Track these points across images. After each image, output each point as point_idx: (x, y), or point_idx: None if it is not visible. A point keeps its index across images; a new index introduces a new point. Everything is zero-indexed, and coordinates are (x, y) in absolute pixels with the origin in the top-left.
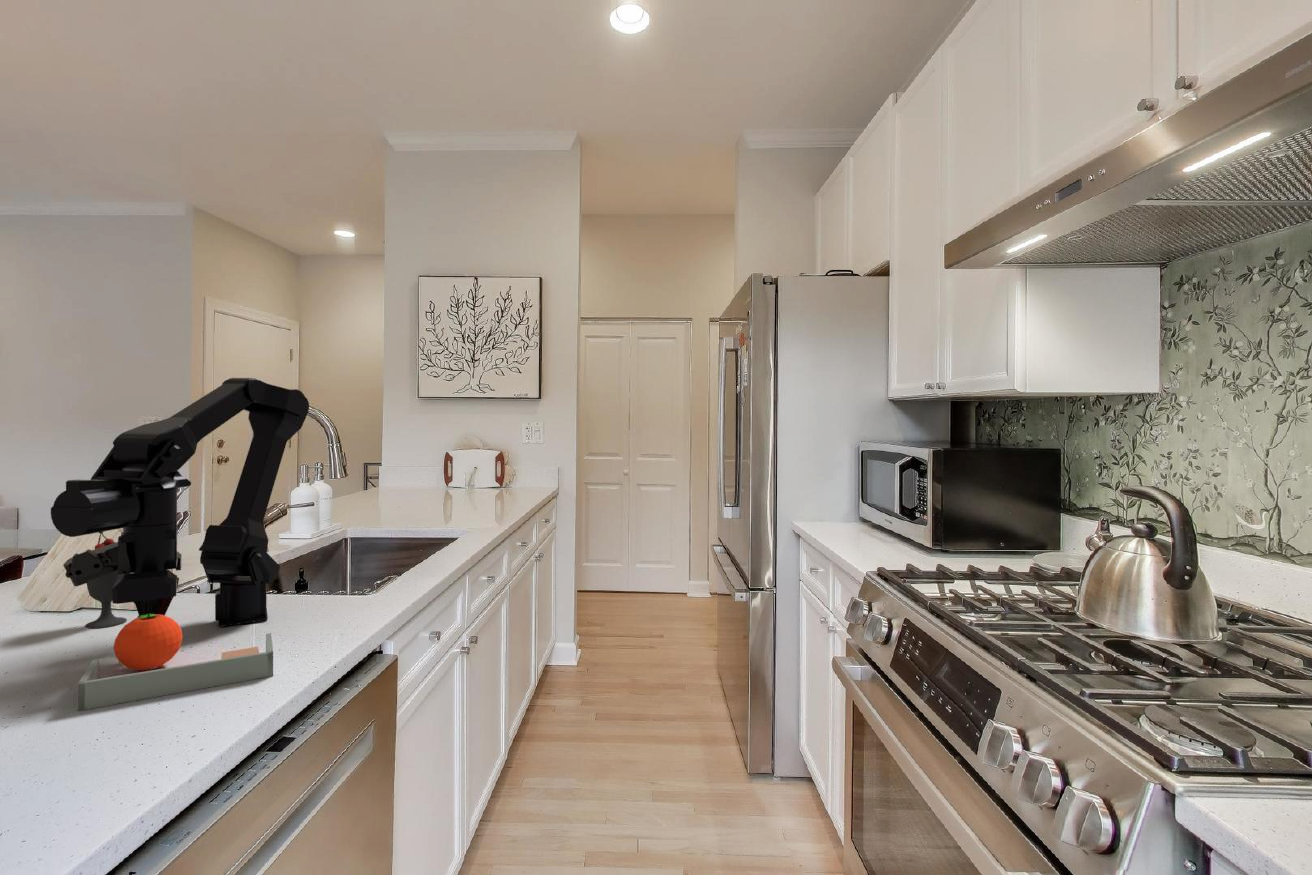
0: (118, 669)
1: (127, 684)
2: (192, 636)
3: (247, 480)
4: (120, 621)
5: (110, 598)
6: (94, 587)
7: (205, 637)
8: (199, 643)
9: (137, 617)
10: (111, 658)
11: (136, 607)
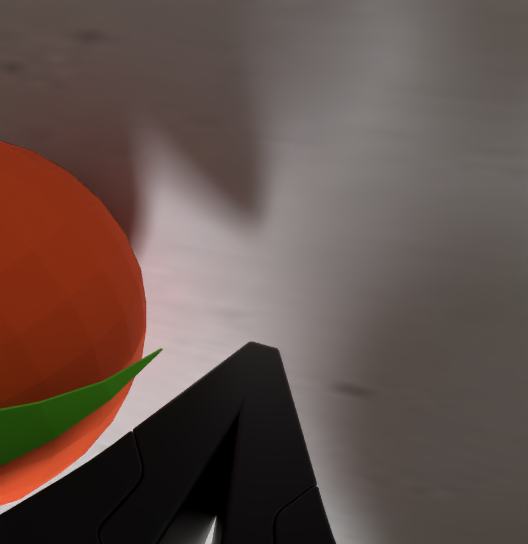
0: (135, 132)
1: None
2: (462, 481)
3: None
4: None
5: None
6: None
7: (390, 502)
8: (311, 463)
9: (7, 407)
10: (392, 131)
11: (31, 498)
